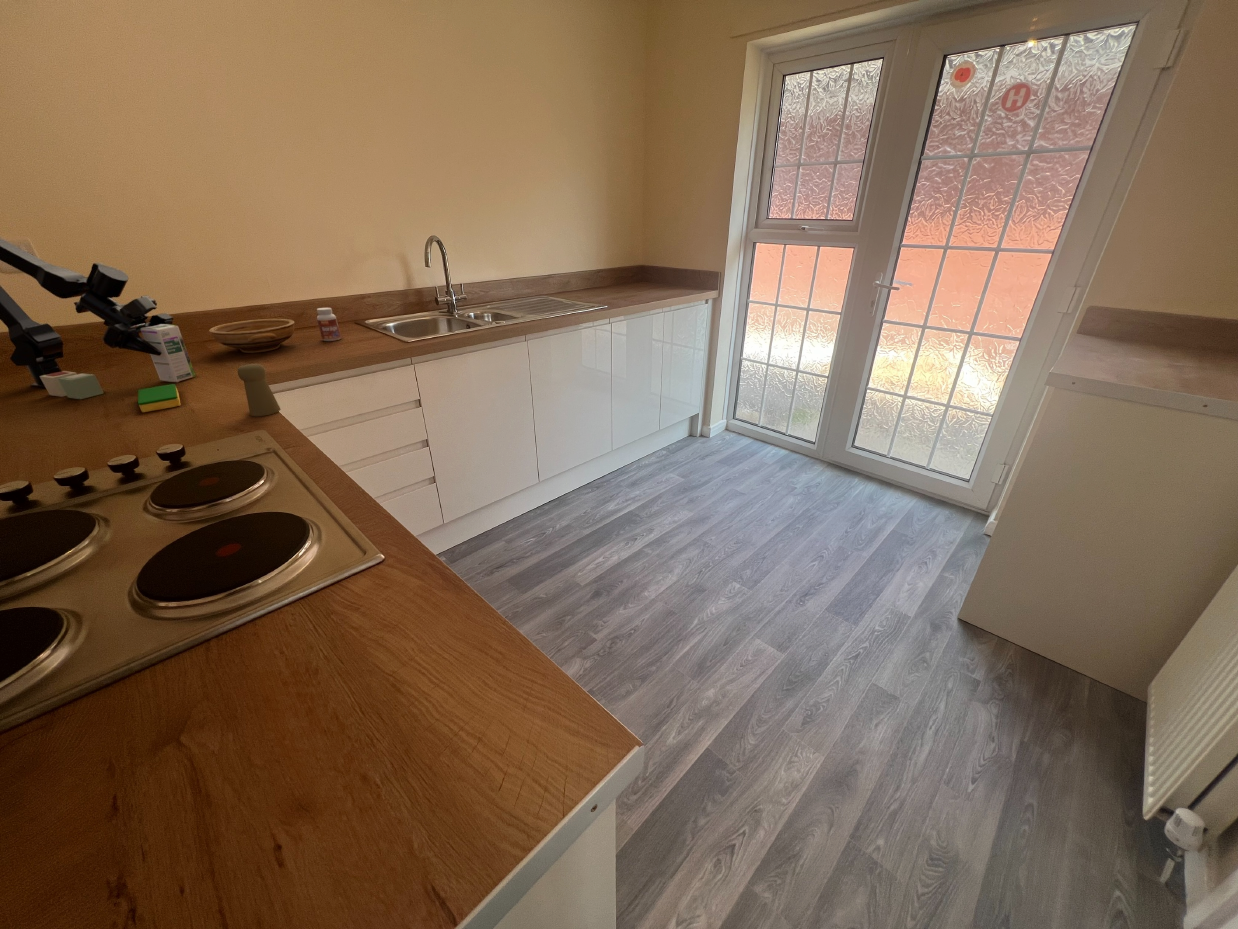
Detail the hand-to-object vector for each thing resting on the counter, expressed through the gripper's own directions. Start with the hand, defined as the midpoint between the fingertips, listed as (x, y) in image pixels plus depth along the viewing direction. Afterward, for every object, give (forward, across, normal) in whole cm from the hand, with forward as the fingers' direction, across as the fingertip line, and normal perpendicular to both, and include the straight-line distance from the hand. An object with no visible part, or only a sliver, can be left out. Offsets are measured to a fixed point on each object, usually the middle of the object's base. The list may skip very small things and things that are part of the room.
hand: (173, 350), depth 137 cm
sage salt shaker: (+34, -30, -20) cm, 49 cm away
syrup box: (+4, 0, +7) cm, 8 cm away
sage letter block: (-6, -12, +17) cm, 22 cm away
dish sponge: (+12, -20, +1) cm, 23 cm away
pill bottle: (+20, +48, -8) cm, 52 cm away
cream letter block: (-11, -10, +22) cm, 26 cm away
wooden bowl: (+6, +36, +5) cm, 37 cm away
